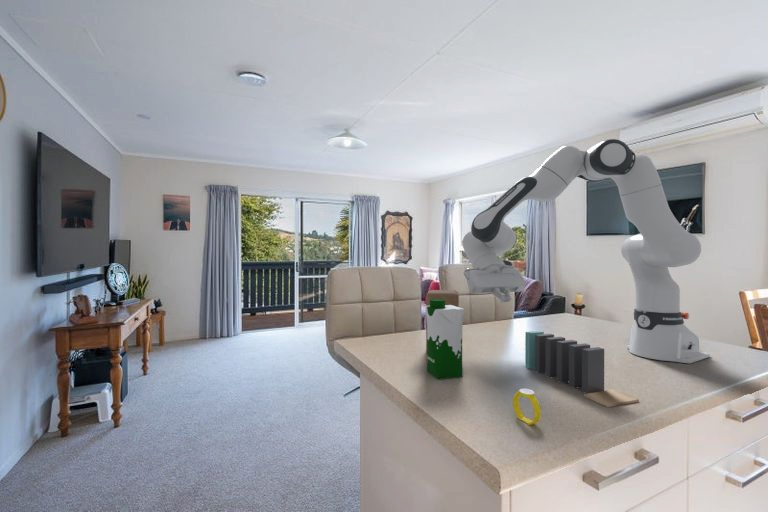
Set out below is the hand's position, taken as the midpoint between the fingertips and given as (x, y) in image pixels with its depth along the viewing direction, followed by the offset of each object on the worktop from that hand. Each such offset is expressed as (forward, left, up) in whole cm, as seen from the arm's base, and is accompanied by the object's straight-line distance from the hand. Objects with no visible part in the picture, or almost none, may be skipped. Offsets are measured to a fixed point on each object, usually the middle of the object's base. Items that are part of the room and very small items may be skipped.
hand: (506, 301), depth 113 cm
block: (+18, -9, -17) cm, 27 cm away
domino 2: (0, +16, -17) cm, 24 cm away
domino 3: (0, +20, -17) cm, 26 cm away
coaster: (0, +36, -17) cm, 40 cm away
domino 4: (0, +24, -17) cm, 29 cm away
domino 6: (0, +31, -17) cm, 36 cm away
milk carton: (+27, +9, -17) cm, 33 cm away
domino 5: (0, +27, -17) cm, 32 cm away
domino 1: (0, +12, -17) cm, 21 cm away
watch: (+25, +38, -17) cm, 49 cm away
